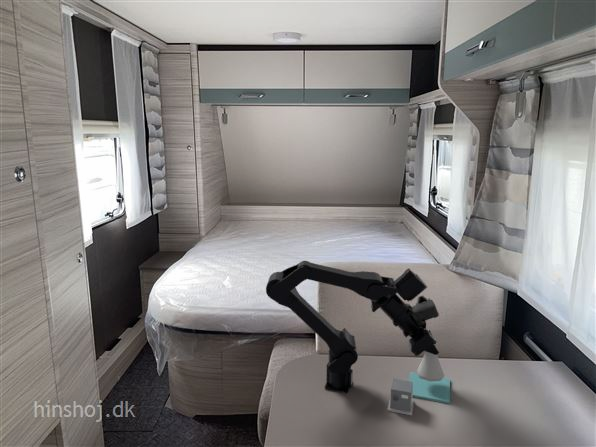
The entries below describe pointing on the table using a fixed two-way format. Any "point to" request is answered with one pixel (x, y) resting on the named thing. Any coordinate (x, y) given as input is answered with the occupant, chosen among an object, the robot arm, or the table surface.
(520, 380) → the table surface
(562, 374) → the table surface
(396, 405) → the box
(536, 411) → the table surface
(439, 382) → the mat
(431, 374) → the flask
